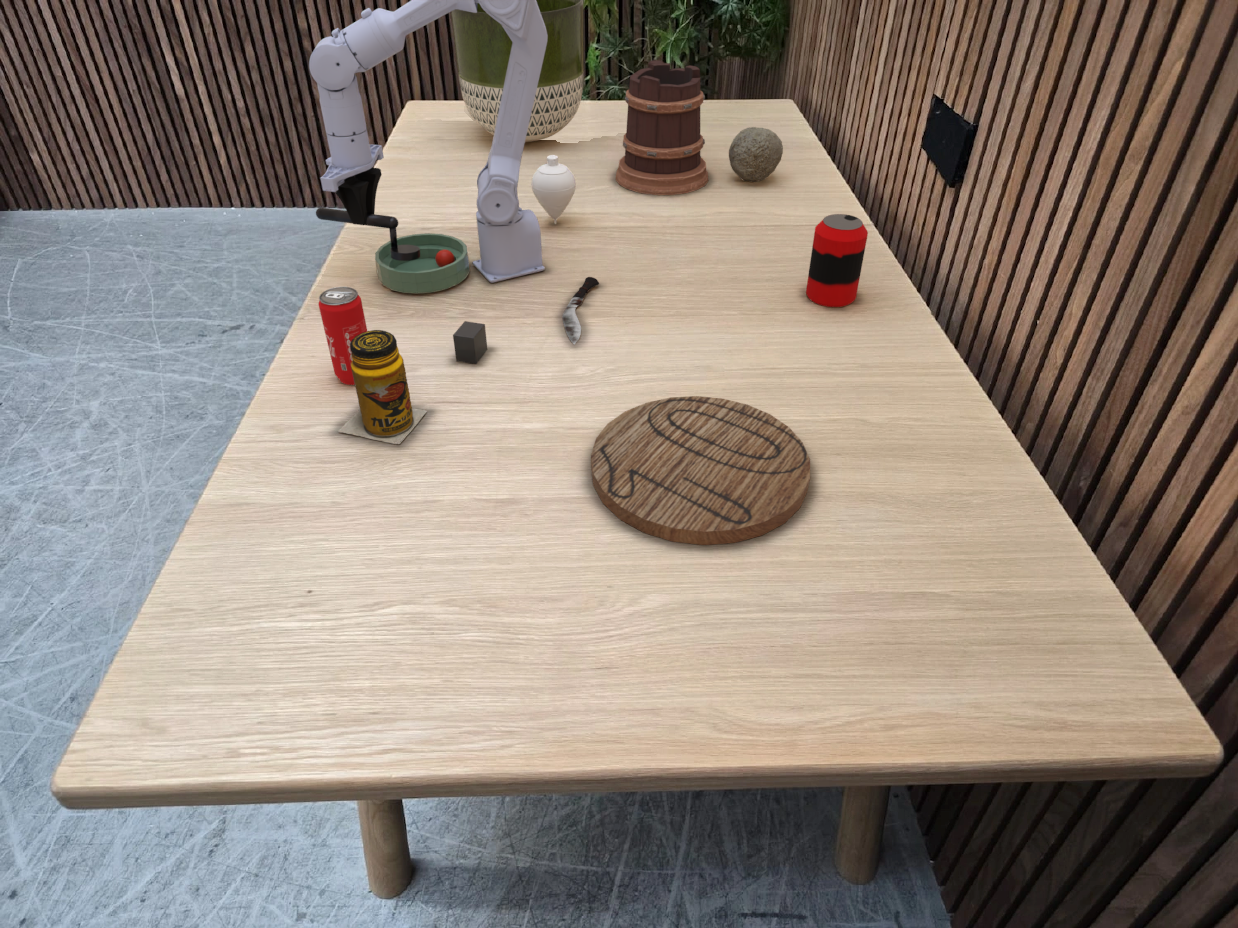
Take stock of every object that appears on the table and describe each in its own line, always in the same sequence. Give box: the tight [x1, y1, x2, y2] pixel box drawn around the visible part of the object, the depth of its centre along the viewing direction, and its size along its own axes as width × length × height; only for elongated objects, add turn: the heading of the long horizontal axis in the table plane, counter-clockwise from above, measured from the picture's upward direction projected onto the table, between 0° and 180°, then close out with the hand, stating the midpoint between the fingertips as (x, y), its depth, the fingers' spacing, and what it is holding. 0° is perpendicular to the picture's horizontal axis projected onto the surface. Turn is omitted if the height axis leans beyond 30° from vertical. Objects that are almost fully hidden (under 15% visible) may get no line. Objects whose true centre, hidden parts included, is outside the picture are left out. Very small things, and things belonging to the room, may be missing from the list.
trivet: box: [590, 395, 811, 546], centre depth 102 cm, size 25×25×2 cm
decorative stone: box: [728, 126, 784, 183], centre depth 171 cm, size 10×8×10 cm
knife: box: [561, 276, 600, 346], centre depth 132 cm, size 18×1×5 cm
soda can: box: [805, 213, 869, 308], centre depth 132 cm, size 8×8×12 cm
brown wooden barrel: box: [615, 59, 710, 196], centre depth 170 cm, size 18×23×20 cm
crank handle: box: [315, 207, 420, 261], centre depth 137 cm, size 17×4×6 cm, turn 74°
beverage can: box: [318, 286, 368, 386], centre depth 115 cm, size 5×5×12 cm
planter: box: [450, 0, 585, 143], centre depth 186 cm, size 27×27×27 cm
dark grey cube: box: [452, 320, 488, 365], centre depth 121 cm, size 3×4×4 cm
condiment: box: [337, 329, 428, 445], centre depth 106 cm, size 7×8×12 cm
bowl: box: [374, 232, 471, 294], centre depth 140 cm, size 14×14×4 cm
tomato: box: [435, 250, 455, 267], centre depth 142 cm, size 3×3×3 cm
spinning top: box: [530, 154, 577, 225], centre depth 154 cm, size 8×8×12 cm
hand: (363, 220), depth 136 cm, fingers closed on crank handle, 2 cm apart
